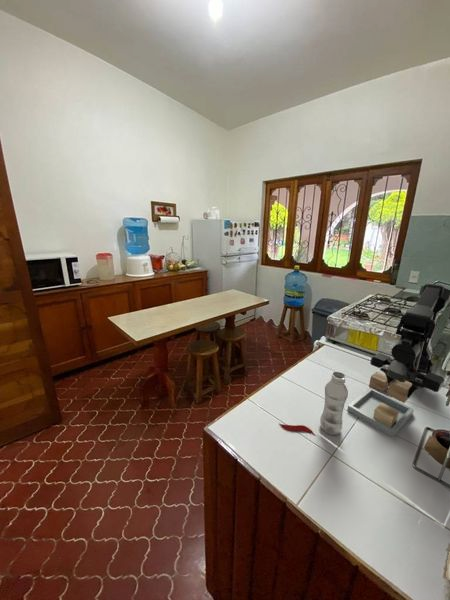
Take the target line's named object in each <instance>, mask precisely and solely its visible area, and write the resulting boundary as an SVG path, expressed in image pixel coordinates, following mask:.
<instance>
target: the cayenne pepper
mask: <svg viewBox="0 0 450 600" xmlns="http://www.w3.org/2000/svg"><path fill="white" fill-rule="evenodd" d="M279 426H280V428H282V429H284V430H286V431H289V432H303V433H308V434H311V435H313V436H316V433H314V432H313V430H312V429H311V428H310V427H307V426H306V425H303V424H297V425H291V424H284V423H282V424H281V423H279Z"/></svg>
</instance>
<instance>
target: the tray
mask: <svg viewBox="0 0 450 600" xmlns="http://www.w3.org/2000/svg"><path fill="white" fill-rule="evenodd" d="M381 403H384V404H386V405H388V406H390V407H391V408H393V409H395V410H397V411H399V414H398V418H397V422H396V424H395V425H394V426H393V427H392V428H390V427H388V426H387V425H385V424H383V423H381V422H380V421H378V420H376V419H374V418H373V416H374V411H375V409H376V408H377V407H378V406H379V405H380V404H381ZM414 409H415V408H413V407H410V406H408V405H406V404H404V403H403V402H401V401H399V400H397V399H395V398H393V397H391V396H389V395H387V394H384V393H383V392H381V391H379V390H377V389H375V388H373V387H369V388H368V389H367V390H365V391H364V392H363V393H362V394H360V395H359V396H358V397H357V398H355V399H354V400H353V401H352V402H350V403H349V404H348V405H347V411H348V412H350V413H351V414H353V415H354V416H356V417H357V418H359V419H361V420H363V421H365V422H366V423H368V424H369V425H370V426H373V427H374V428H376V429H378V430H379V431H381V432H382V433H385V435H387V436H389V437H390V438H393V437H394V436H395V435H396V434H397V433H398V432H399V430H400V429H401V428H402V427H403V426H404V425H405V423H406V422H407V421H408V420H409V419H410V417H412V415H413V414H414Z"/></svg>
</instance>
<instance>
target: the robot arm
mask: <svg viewBox="0 0 450 600" xmlns="http://www.w3.org/2000/svg"><path fill="white" fill-rule="evenodd" d="M417 296H418V301H417V303H416V305H415V306H411V307H409V308H408V309H407V310H406V311H405V313H402V315H401V317H400V321H399V323H398V326H397V329H396V331H395V335H398V336H400V339H399V340H398V341H397V342H396V344H394V346H393V347H392V348H391V353H390V354H391V356H392V358H393V360H392V361H391V359H392V358H391V357H390V356H388V355H387V354H383V353H381V352H378V353H376V354H375V355H374V356H372V357H371V359H370V365H371V366H374V367H376V368H378V369H379V370H380V371H381V372H383V374H384V375H386V377H387V381H388V387H389V384H390V382H391V381H392V380H393V379H396V380H398V381H400V382H405V381H408V382H410V383H412V386H411V388H410V391H409V393H408V398H409V397H412V395H413V394H414V393H415V391H416V390H418V389H419V388H420V389H428V390H430V391H433V392H434V393H439V391H440V390H441V389H442V388H443V387H444V384H445V381H446V380H445V378H444V376H441V375H439V374H436V373H433V368H434V363H433V360H432V359H431V357H432V355H433V354H432V352H431V350H430V348H429V346H430V342H431V339H432V337H433V335H434V332H435V330H436V327H437V324H436V322H437V317H438V314H439V312H440V311H442V310H443V309H444V308H445V307H446V305H447V303H450V289H449V288H446V287H445V286H443V285H441V284H435V283H434V284H433V283H425V284H424V285H422V286H420V289H419V292H418V295H417ZM409 399H410V398H409Z"/></svg>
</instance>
